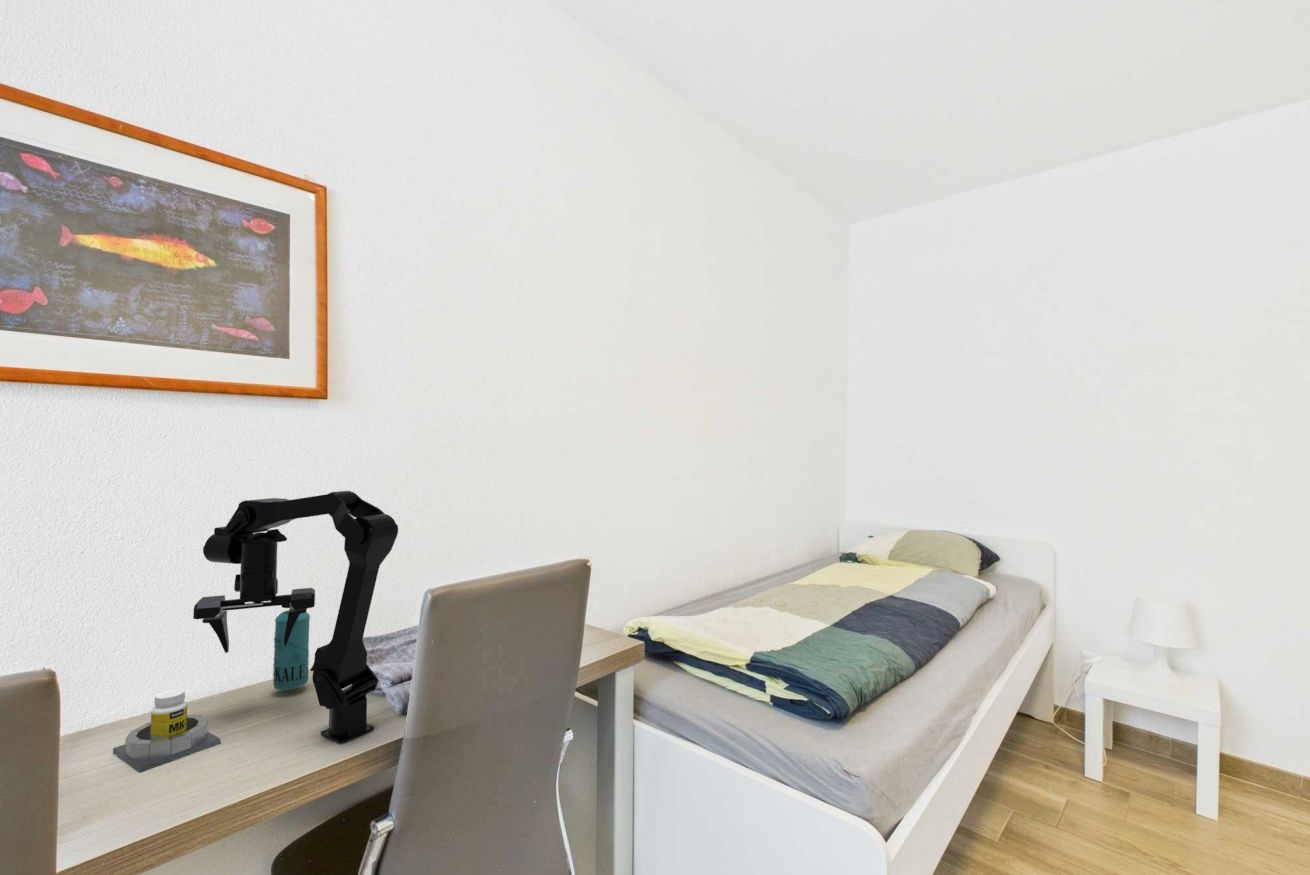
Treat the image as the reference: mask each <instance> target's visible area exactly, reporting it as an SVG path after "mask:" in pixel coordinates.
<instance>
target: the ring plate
mask: <svg viewBox="0 0 1310 875" xmlns="http://www.w3.org/2000/svg"><path fill="white" fill-rule="evenodd" d="M208 723H209V721H208V717H206V716H203V715H201V714H187V724H186V732H185V733H182V734H179V735H176V736H173V737H169V738H163V739H157V740H150V731H151V721H150V722H146V723H144V724H143V725H140V726H138V727H137V728H135V729H132V730H131V731H130V732H129V733H128V735H127V736H126V737H125V743H124V744H122V745H119V746H115V747H113V748H112V754H114V755H115V754H116V755H117V757H118V758H119V757H120V758H121V761H123V760H124V761H125V762H124V761H123V762H124V763H126V764H127V765H129V767H131V766H132V767H131V768H133V769H134V770H135V769H136V770H135V771H136V772H138V773H143V772H145V771H148V770H151V769H154V768H156V767H159V766H162V765H165V764H167V763H170V762H172V761H173V762H174V761H175V760H179V759H181V758H183V757H186V756H189V755H192V754H195V753H198V752H201V751H203V750H206V749H208V748H210V747H214V746H217V745H220V744H221V738H220V737H218V736H216V735H215V734H213V733H211V732H210V731H208ZM116 755H115V756H116ZM120 758H119V759H120Z"/></svg>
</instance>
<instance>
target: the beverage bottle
mask: <svg viewBox="0 0 1310 875" xmlns="http://www.w3.org/2000/svg"><path fill="white" fill-rule="evenodd" d="M281 608H283V609H288V610H284V611H281V613H280V614H278V615H277V616H276V618H275V620H274V621H275V627H274V628H275V629H274V633H273V634H274V637H273V641H274V642H273V643H274V649H273V656H274V657H273V659H272V660H273V664H272V673H273V678H272V685H273V688H274V689H275V690H278V691H279V690H280V691H286V690H293V689H297V688H300V687H303V686H305V685H306V684H307V683H308V681H309V680H308V679H309V677H310V673H309V672H310V671H309V666H310V661H309V658H310V650H309V648H310V647H309V645H310V643H309V642H310V640H309V639H310V617H311V615H310V614H309V613H308V612H305V613H301V614H300V615H299V617H298V619H297V621H296V622H295V624H294V626H293V629H292V632H291V634H290V637H289V640H288V642H287V645H285V646H284V636H285V630H286V625H287V619H288V613H289V609H290V604H288V605H281Z"/></svg>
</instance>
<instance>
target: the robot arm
mask: <svg viewBox="0 0 1310 875" xmlns="http://www.w3.org/2000/svg"><path fill="white" fill-rule="evenodd" d="M323 515H328V516H330V517H331V519H332V522H333V525H334V529H335V530H336V531H337V532H338V533H339V534H341V536H342V537H343V538H344V546H343V549H344V552H345V554H346V557H347V560H348V567H347V573H346V578H345V582H344V586H343V591H342V596H341V600H340V603H339V608H338V613H337V616H336V622H335V625H334V629H333V632H332V633H333V635H332V638H331V640H330V642H329V643H327V644H325V645H322V646H320V647H317V648H316V651H315V653H314V660H313V664H312V666H311V668H310V672H312V683H313V686H314V690H315V693H316V697H317V701H318V704H319V706H320V707H324V708H325V709H326V710H329V712H328V714H329V715H328V727H329V728H328V727H327V728H326V729H323V730H321V731H320V736H322V737H324V738H327V739H329V740H332V741H333V742H336V743H338V744H344V743H346V742H348V741H351V740H353V739H355V738H358V737H360V736H362V735H365V734H367V733H369V732H372V731H374V730H375V726H374V725H372V724H370V723H367V722H368V720H367V718H368V716H367V715H368V714H367V712H368V711H367V710H368V698H367V695H369V694H370V693H371V692H375V691H376V690H377V689H376V687H377V684H378V682H379V680H380V679H379V678H378V677H377V676H376V674H375V673H374V672H373V671H372V669H371V667H370V666H369V665H368V664H367V660H368V659H367V658H368V651H367V648H366V646H365V644H364V640H363V638H364V634H365V629H366V625H367V621H368V618H369V614H370V608H371V604H372V599H373V595H374V591H375V587H376V582H377V579H378V574H379V569H380V567H381V564H382V563H383V562H384V561H385V559H386V557H387V556H388V555H389V554H390V552H391V551H392V549H393V547H394V544H395V542H396V540H397V537H398V534H399V524H397V523H396V521H395V519H394V518H393V517H392V516H391V515H390V514H387V513H385V512H384V511H383V510H381V508H379V507H378V506H375V505H373V504H371V503H369V502H368V501H366V500H364V499H362V498H361V497H360V496H359V495H358V494H357V493H355V492H353V491H351V490H342V491H340V490H339V491H332V492H329V493H327V494H320V495H314V496H307V497H302V498H301V497H300V498H294V499H288V498H278V497H277V498H276V497H272V498H271V497H270V498H259V499H258V498H257V499H247V500H242V501H240V502H238V506H237V508H236V510H235V512H234V513H233V514H232V516H231V518H229V520H228V522H227V523H226V525H225V526H218V527H217V526H216V527H215V528H214V531H213V532H214V533H213V534H212V535H211V536H209V537H208V539H206V542H205V544H204V546H203V547H202V553H203V556H204V558H205V559H206V560H207V561H208V562H211V563H219V564H235V565H240V574H235V578H234V591H235V592H236V593H238V592H239V598H235V599H226V595H225V594H223V595H212V596H202V597H201V598H200V599H199V600H198V601H197V602H196V603H195V605H194V607H193V616H192V617H193V620H202V623H203V624H209V625H210V626H211V628H212V630H213V631H214V633H215V634H216V636H217V637H218V640H219V642H220V644H221V646H222V648H223V651H224V653H225V654H228V653H229V650H230V641H229V640H230V639H229V628H228V611H234V610H245V609H257V608H265V607H276V606H282V605H288V604H290V608H288V610H289V613H288V619H287V625H286V630H285V636H284V646H285V645H287V642H288V640H289V637H290V634H291V632H292V629H293V626H294V624H295V622H296V621H297V619H298V617H299V615H300V614H301V613H305V612H307V610H308V609H311V608H312V609H313V608H315V604H316V590H315V589H314V588H313V587H305V588H304V587H303V588H294V589H293V588H292V589H291V590H292V591H291V594H282V595H277V594H278V592H279V591H278V590H279V589H278V588H279V586H278V585H279V584H278V583H279V582H278V581H279V580H278V578H277V576H278V575H277V572H278V571H277V570H278V568H277V567H278V564H277V563H278V543H282V542H286V541H287V540H288V538H287V536H286V535H285V534H283V533H282V532H281V530H280V529H278V527H280V526H285V525H287V524H288V523H290V522H291V521H294V520H296V519H303V518H310V517H318V516H323ZM273 528H275V529H273ZM307 613H308V612H307ZM350 685H351V686H350Z"/></svg>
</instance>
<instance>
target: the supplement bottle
mask: <svg viewBox="0 0 1310 875" xmlns="http://www.w3.org/2000/svg"><path fill="white" fill-rule="evenodd" d="M185 699H186V690H185V689H184V688H173V689H172V688H171V689H168V690H164V691H161V692H159V693H157V694H155V695H154V706H153V707H152V709H151V711H150V722H151V731H150V740H157V739H163V738H169V737H173V736H176V735H179V734H182V733H185V732H186V724H187V715H188V703H187V701H186V700H185Z"/></svg>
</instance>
